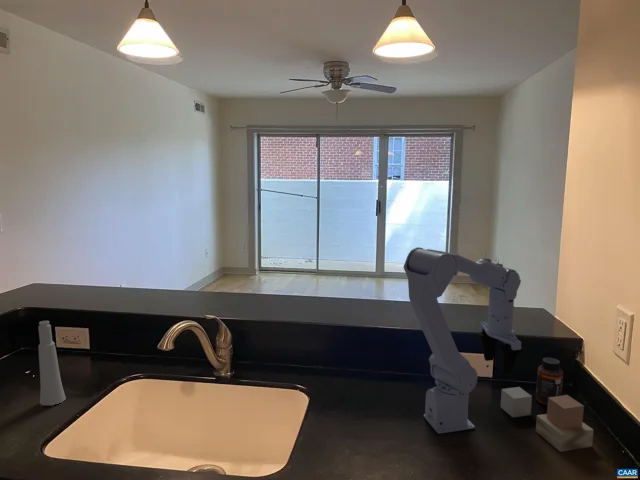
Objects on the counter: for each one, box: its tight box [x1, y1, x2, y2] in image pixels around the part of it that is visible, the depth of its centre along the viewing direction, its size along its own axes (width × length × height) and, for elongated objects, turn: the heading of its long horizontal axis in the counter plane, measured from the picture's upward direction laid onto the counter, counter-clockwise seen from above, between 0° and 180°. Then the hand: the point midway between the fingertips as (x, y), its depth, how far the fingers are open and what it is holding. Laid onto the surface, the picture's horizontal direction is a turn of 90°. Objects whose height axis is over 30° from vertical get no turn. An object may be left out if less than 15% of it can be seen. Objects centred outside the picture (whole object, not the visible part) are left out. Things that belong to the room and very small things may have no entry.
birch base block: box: [535, 413, 594, 453], centre depth 106 cm, size 8×8×4 cm
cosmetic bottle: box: [38, 320, 67, 406], centre depth 123 cm, size 6×6×22 cm
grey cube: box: [500, 386, 533, 418], centre depth 117 cm, size 5×5×5 cm
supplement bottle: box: [535, 357, 564, 407], centre depth 121 cm, size 6×6×11 cm
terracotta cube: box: [546, 394, 585, 430], centre depth 105 cm, size 5×5×5 cm
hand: (497, 366), depth 119 cm, fingers open, 7 cm apart
